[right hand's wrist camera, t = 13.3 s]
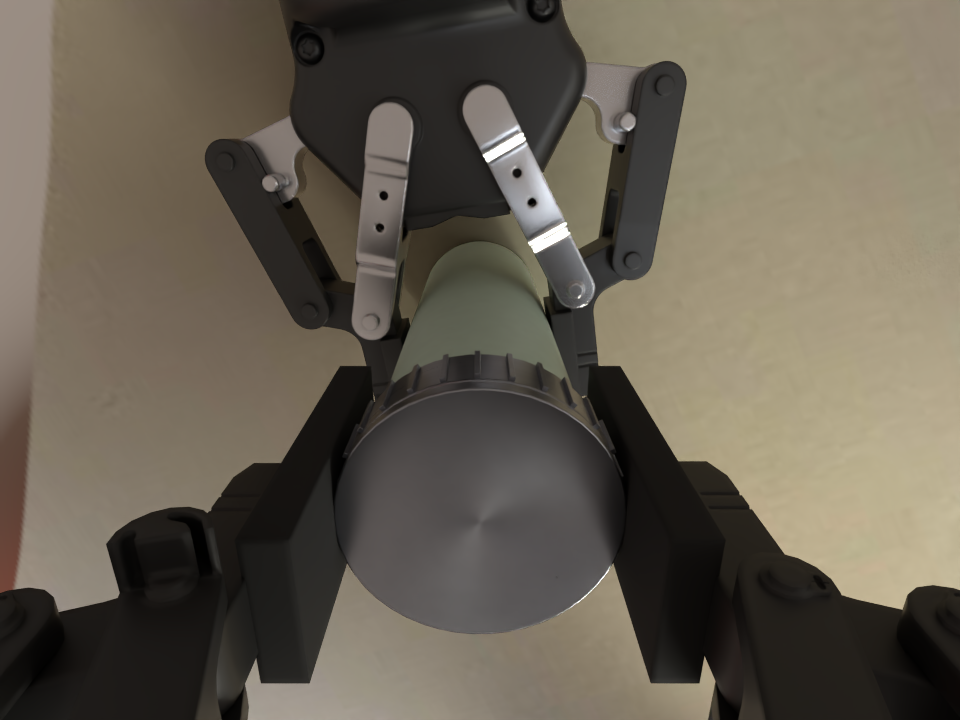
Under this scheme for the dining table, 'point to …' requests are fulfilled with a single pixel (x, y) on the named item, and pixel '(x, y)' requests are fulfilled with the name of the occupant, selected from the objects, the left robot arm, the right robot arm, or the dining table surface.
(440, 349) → the bottle
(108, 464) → the dining table surface
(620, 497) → the lid
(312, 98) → the left robot arm
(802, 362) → the dining table surface
